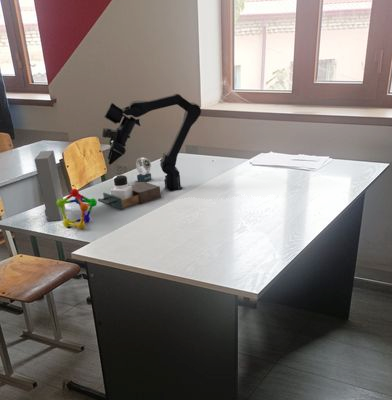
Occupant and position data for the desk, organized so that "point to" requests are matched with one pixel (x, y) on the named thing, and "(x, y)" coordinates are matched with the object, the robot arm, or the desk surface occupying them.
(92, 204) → the educational toy
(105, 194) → the drawer
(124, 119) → the robot arm
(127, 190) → the medicine bottle
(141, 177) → the snow globe
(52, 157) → the tall grey pillar
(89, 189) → the desk surface
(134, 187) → the cabinet
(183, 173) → the desk surface
